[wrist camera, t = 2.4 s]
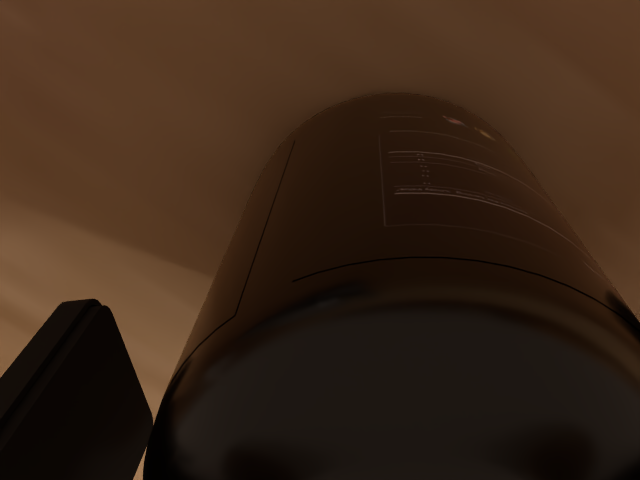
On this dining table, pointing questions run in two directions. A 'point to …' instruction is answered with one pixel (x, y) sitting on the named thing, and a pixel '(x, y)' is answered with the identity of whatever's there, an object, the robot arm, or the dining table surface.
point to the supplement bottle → (403, 319)
